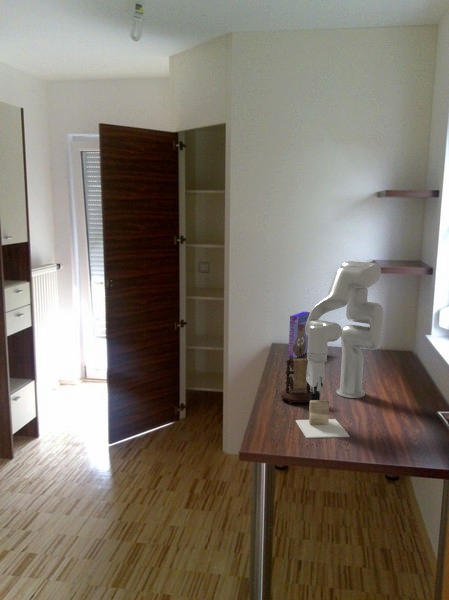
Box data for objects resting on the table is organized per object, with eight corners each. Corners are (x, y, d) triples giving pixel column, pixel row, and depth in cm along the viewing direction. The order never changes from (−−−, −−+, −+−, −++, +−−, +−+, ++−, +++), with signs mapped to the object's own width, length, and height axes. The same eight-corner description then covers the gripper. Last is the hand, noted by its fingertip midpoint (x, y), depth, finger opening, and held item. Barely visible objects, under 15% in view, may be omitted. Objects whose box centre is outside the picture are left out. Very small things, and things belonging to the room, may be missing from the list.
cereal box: (296, 358, 297) (297, 316, 293) (288, 357, 299) (290, 315, 296) (308, 352, 311) (310, 312, 307) (301, 350, 314) (303, 311, 310)
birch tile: (308, 422, 203) (309, 400, 201) (326, 422, 203) (327, 399, 202) (310, 425, 200) (311, 402, 199) (328, 424, 201) (329, 402, 199)
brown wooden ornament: (285, 406, 221) (287, 360, 218) (276, 394, 235) (278, 351, 232) (319, 405, 223) (321, 359, 220) (308, 393, 238) (310, 350, 235)
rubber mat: (295, 421, 205) (295, 420, 205) (335, 420, 207) (335, 418, 207) (306, 438, 189) (306, 437, 189) (349, 437, 191) (349, 435, 191)
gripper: (302, 351, 211) (300, 395, 214) (312, 361, 196) (310, 409, 199) (320, 351, 212) (318, 395, 214) (332, 361, 197) (330, 408, 200)
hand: (314, 401), depth 207 cm, fingers closed
